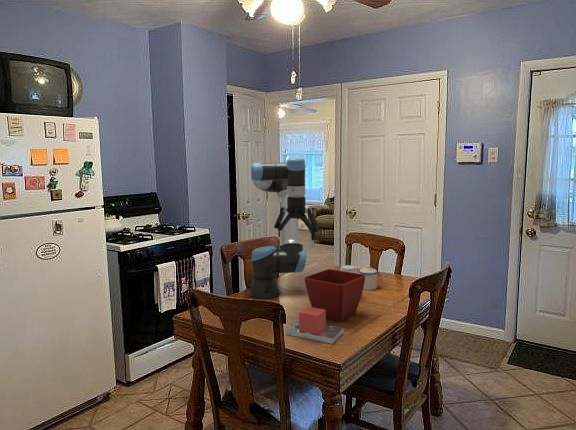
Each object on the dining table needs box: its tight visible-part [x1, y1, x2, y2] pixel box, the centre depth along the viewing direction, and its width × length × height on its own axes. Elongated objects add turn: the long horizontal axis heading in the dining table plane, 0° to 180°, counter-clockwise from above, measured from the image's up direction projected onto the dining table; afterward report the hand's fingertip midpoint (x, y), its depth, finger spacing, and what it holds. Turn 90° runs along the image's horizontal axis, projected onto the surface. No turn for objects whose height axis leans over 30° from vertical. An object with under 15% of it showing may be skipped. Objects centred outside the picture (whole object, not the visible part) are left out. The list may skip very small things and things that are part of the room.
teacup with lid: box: [357, 264, 378, 291], centre depth 220 cm, size 12×9×12 cm
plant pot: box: [304, 268, 365, 322], centre depth 182 cm, size 19×19×17 cm
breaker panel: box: [285, 319, 345, 345], centre depth 163 cm, size 19×11×3 cm, turn 62°
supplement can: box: [339, 264, 358, 273], centre depth 204 cm, size 8×8×15 cm
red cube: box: [298, 306, 327, 335], centre depth 162 cm, size 8×8×7 cm
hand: (296, 246), depth 181 cm, fingers open, 13 cm apart
